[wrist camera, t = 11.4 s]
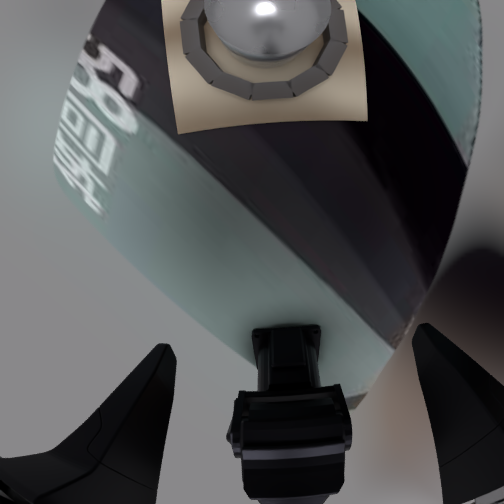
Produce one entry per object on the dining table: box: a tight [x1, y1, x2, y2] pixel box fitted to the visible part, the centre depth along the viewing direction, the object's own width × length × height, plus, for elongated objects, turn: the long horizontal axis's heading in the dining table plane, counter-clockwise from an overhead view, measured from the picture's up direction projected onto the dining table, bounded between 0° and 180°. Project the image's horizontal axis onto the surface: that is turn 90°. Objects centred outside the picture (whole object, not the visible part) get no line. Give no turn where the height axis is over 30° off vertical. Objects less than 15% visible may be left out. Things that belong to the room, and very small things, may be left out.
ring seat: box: [161, 0, 367, 134], centre depth 12 cm, size 12×12×2 cm
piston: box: [204, 0, 331, 69], centre depth 10 cm, size 5×5×6 cm
